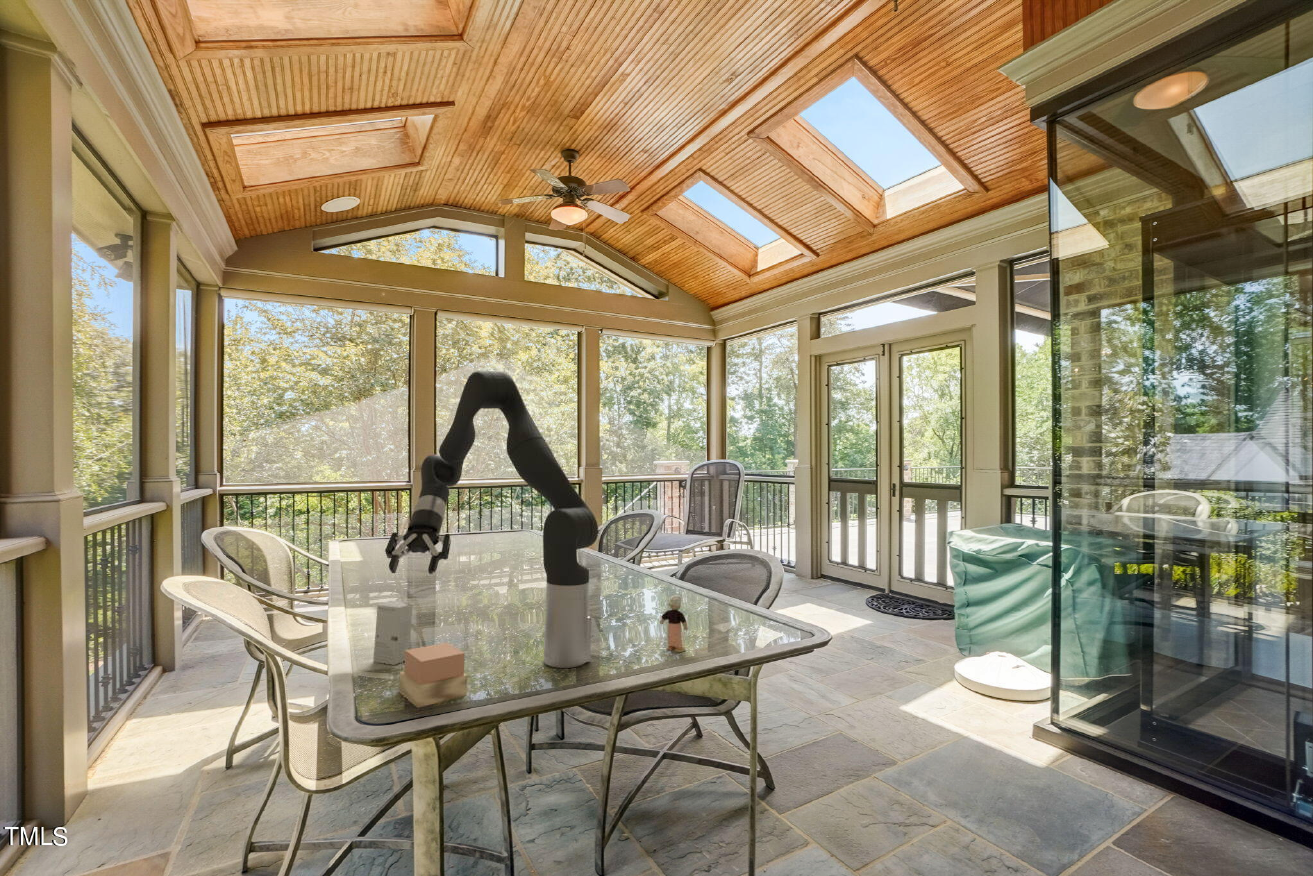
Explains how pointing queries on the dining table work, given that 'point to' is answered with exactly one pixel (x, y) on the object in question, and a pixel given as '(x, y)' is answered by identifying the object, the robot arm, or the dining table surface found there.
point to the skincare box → (392, 632)
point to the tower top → (434, 663)
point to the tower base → (432, 689)
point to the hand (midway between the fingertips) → (411, 571)
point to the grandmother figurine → (674, 624)
